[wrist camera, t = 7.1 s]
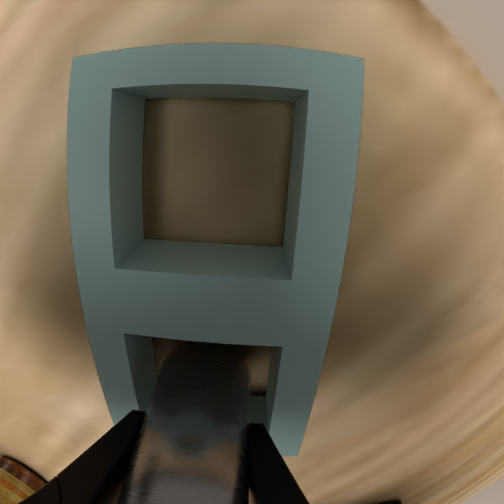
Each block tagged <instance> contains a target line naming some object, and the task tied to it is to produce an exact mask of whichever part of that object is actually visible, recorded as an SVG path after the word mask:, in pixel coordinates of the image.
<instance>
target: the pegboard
mask: <svg viewBox="0 0 504 504" xmlns="http://www.w3.org/2000/svg"><path fill="white" fill-rule="evenodd" d="M363 81H364V59H363V58H359V57H354V56H348V55H343V54H337V53H331V52H325V51H318V50H311V49H303V48H295V47H285V46H274V45H261V44H241V43H188V44H169V45H155V46H144V47H135V48H127V49H119V50H112V51H105V52H99V53H94V54H88V55H83V56H78V57H73V59H72V68H71V77H70V88H69V101H68V120H67V183H68V202H69V216H70V227H71V237H72V246H73V254H74V262H75V269H76V276H77V282H78V288H79V294H80V299H81V305H82V310H83V315H84V320H85V324H86V329H87V333H88V338H89V342H90V346H91V350H92V354H93V358H94V362H95V366H96V369H97V373H98V376H99V380H100V383H101V387H102V390H103V393H104V396H105V400H106V403H107V406H108V409H109V412H110V415H111V418H112V420H113V423H114V426H115V425H116V424H117V423H118V422H119V421H120V420H121V419H122V418H124V417H125V416H126V415H127V414H128V413H129V412H130V411H132V410H140V411H145V412H147V409H148V406H149V403H150V400H151V397H152V394H153V391H154V389H155V386H156V383H157V380H158V378H157V372H156V365H155V358H154V350H153V342H152V337H159V338H168V339H177V340H187V341H198V342H210V343H224V344H239V345H257V346H272V351H271V359H270V367H269V375H268V382H267V390H266V396H256V395H250V423H263V424H264V425H265V427H266V429H267V431H268V433H269V434H270V436H271V438H272V440H273V442H274V443H275V445H276V447H277V449H278V451H279V452H280V454H281V456H298V453H299V449H300V446H301V443H302V440H303V436H304V433H305V430H306V426H307V423H308V419H309V416H310V412H311V409H312V405H313V401H314V397H315V394H316V390H317V386H318V382H319V378H320V374H321V370H322V366H323V362H324V358H325V354H326V349H327V345H328V340H329V336H330V331H331V327H332V322H333V317H334V313H335V308H336V303H337V297H338V292H339V287H340V282H341V276H342V270H343V265H344V259H345V253H346V247H347V240H348V234H349V227H350V220H351V213H352V206H353V198H354V190H355V181H356V172H357V163H358V153H359V142H360V130H361V117H362V101H363ZM183 97H212V98H243V99H261V100H274V101H286V102H295V107H294V122H293V136H292V149H291V162H290V174H289V186H288V197H287V209H286V220H285V230H284V241H283V247H273V246H257V245H241V244H224V243H207V242H190V241H172V240H155V239H144V228H143V134H144V112H145V99H152V98H183Z"/></svg>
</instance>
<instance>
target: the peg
mask: <svg viewBox="0 0 504 504" xmlns="http://www.w3.org/2000/svg"><path fill="white" fill-rule="evenodd" d="M250 389H251V375H250V371H249V368H248V366H247V364H246V363H245V361H244V360H243V359H242V358H241V357H240V356H239V355H238V354H236V353H235V352H234V351H232V350H230V349H228V348H226V347H224V346H221V345H218V344H215V343H209V342H191V343H186V344H183V345H181V346H178V347H177V348H175V349H173V350H172V351H171V352H170V353H169V354H168V355H167V357H166V359H165V361H164V363H163V366H162V369H161V372H160V374H159V377H158V380H157V383H156V386H155V389H154V391H153V394H152V397H151V400H150V403H149V406H148V409H147V412H146V414H145V417H144V420H143V423H142V426H141V429H140V432H139V435H138V438H137V441H136V444H135V447H134V451H133V454H132V457H131V460H130V463H129V466H128V469H127V473H126V476H125V479H124V482H123V485H122V489H121V492H120V495H119V499H118V502H117V504H249V470H248V434H249V423H250Z"/></svg>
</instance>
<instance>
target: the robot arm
mask: <svg viewBox="0 0 504 504" xmlns="http://www.w3.org/2000/svg"><path fill="white" fill-rule="evenodd" d="M145 414H146V412H145V411H140V410H132V411H130V412H129V413H128V414H127V415H126V416H125V417H124V418H122V419H121V420H120V421H119V422H118V423H117V424H116V425H115V426H113V427H112V428H111V429H110V430H109V431H108V432H107V433H105V434H104V435H103V436H102V437H101V438H100V439H99V440H98V441H96V442H95V443H94V444H93V445H92V446H91V447H89V448H88V449H87V450H86V451H85V452H84V453H83V454H81V455H80V456H79V457H78V458H77V459H76V460H74V461H73V462H72V463H71V464H70V465H69V466H67V467H66V468H65V469H64V470H63V471H61V472H60V473H59V474H58V475H57V476H58V477H57V476H55V477H54V478H53V479H52V480H51V481H49V482H48V483H47V484H46V485H44V486H43V487H42V488H40V489H39V490H38V491H36V492H35V493H33V494H32V495H30V496H29V497H27V498H26V499H24V500H23V501H21V502H19V503H18V504H117V502H118V499H119V495H120V492H121V489H122V485H123V482H124V479H125V476H126V473H127V469H128V466H129V463H130V460H131V457H132V454H133V451H134V447H135V444H136V441H137V438H138V435H139V432H140V429H141V426H142V423H143V420H144V417H145ZM248 470H249V504H309V502H308V500H307V499H306V497H305V496H304V494H303V492H302V491H301V489H300V487H299V485H298V484H297V482H296V480H295V479H294V477H293V475H292V474H291V472H290V470H289V468H288V467H287V465H286V463H285V461H284V460H283V458H282V456H281V454H280V452H279V451H278V449H277V447H276V445H275V443H274V442H273V440H272V438H271V436H270V434H269V433H268V431H267V429H266V427H265V425H264V424H263V423H249V434H248ZM385 504H402V502H401V501H400V500H399V501H394V502H390V503H385Z"/></svg>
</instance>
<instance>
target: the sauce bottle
mask: <svg viewBox="0 0 504 504" xmlns="http://www.w3.org/2000/svg"><path fill="white" fill-rule="evenodd" d="M44 485H46V483H45V482H44V481H42V480H41V479H40V478H39V477H38V476H36V475H35V474H34V473H33V472H31V471H30V470H29V469H27V468H26V467H24V466H23V465H21V464H19V463H17V462H15V461H13V460H11V459H9V458H7V457H2V458H0V504H18V503H19V502H21V501H23V500H24V499H26V498H27V497H29V496H30V495H32V494H33V493H35V492H36V491H38V490H39V489H40V488H42V487H43V486H44Z"/></svg>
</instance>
